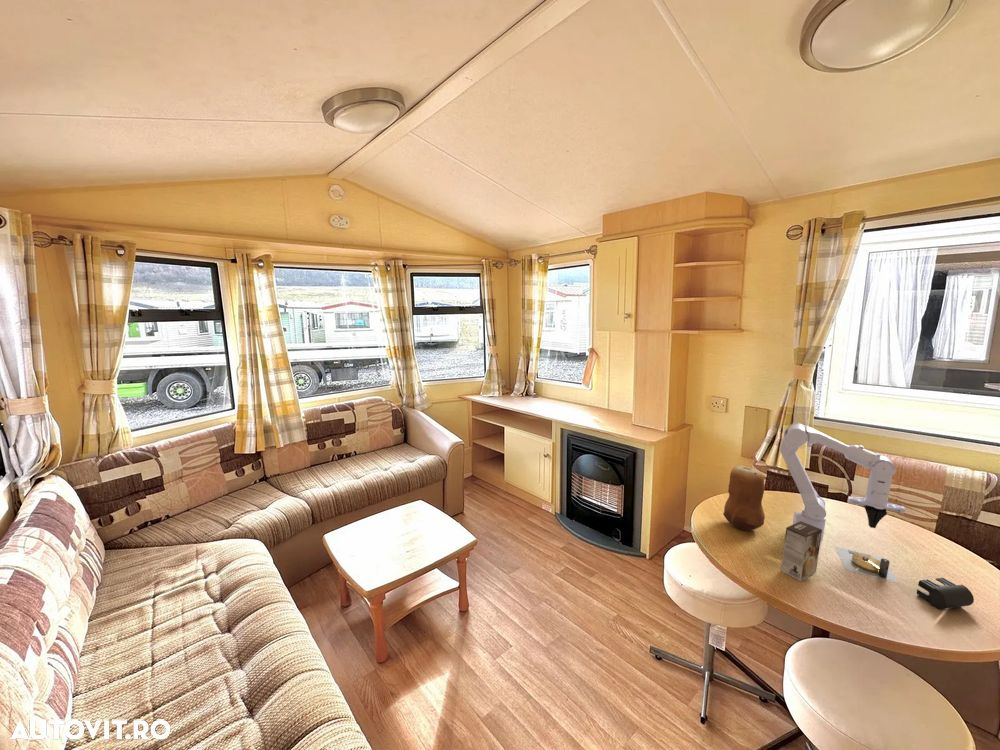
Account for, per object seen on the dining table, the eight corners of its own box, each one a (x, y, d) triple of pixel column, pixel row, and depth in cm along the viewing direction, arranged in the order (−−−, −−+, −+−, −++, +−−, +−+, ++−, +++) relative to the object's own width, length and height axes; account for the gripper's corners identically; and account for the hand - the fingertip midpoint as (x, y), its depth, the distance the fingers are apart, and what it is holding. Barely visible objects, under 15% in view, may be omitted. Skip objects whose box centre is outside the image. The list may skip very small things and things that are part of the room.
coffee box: (795, 562, 137) (801, 520, 134) (816, 573, 132) (823, 529, 129) (779, 571, 133) (785, 527, 130) (801, 582, 127) (808, 536, 125)
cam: (845, 557, 138) (847, 542, 137) (868, 557, 138) (871, 543, 137) (872, 577, 128) (875, 562, 127) (898, 577, 128) (900, 562, 127)
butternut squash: (751, 519, 165) (757, 462, 161) (769, 537, 152) (777, 476, 148) (716, 517, 166) (722, 461, 162) (732, 536, 153) (738, 475, 149)
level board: (844, 572, 132) (845, 569, 132) (834, 548, 145) (835, 545, 145) (897, 586, 126) (898, 582, 126) (882, 559, 139) (883, 556, 138)
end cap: (942, 616, 114) (947, 595, 113) (914, 598, 121) (918, 578, 119) (971, 612, 115) (976, 591, 114) (941, 595, 122) (946, 575, 121)
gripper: (853, 490, 138) (848, 526, 141) (911, 500, 131) (904, 537, 134) (848, 482, 144) (843, 517, 147) (903, 491, 137) (896, 527, 140)
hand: (871, 526), depth 141 cm, fingers closed
